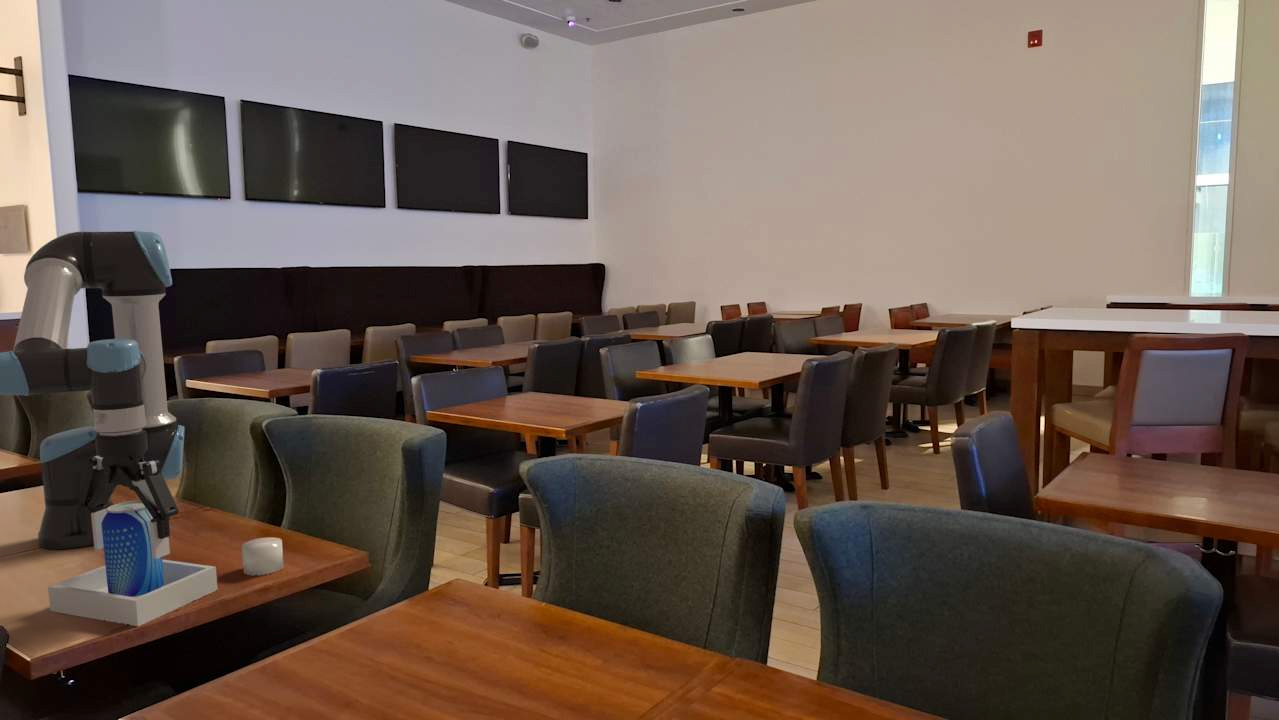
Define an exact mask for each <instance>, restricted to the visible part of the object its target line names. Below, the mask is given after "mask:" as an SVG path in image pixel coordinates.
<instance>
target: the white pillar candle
mask: <svg viewBox="0 0 1279 720" xmlns="http://www.w3.org/2000/svg"><path fill="white" fill-rule="evenodd" d="M283 552H284V551H283V539H282V538H279V537H271V536H270V537H269V536H267V537H259V538H255V539H252V540H251V539H250V540H248V541H246V542H244V543H242V545H241V554H242V555H241V556H242V569H243V573H244V574H245V575H246V574H247V576H255V575H257V576H265V574H266V575H270V573H271V574H274V573H277V572H278V571H279V572H280V571H281V570H282V569H283V568H284V567H285V564H284V553H283ZM280 569H281V570H280ZM276 571H277V572H276ZM273 572H274V573H273Z"/></svg>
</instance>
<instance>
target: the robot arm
mask: <svg viewBox="0 0 1279 720" xmlns="http://www.w3.org/2000/svg"><path fill="white" fill-rule="evenodd" d="M164 244H165V243H164V241H163V239H162V237H161V236H160V234H158V233H156V232H152V231H141V230H140V231H139V230H138V231H137V230H131V231H74V232H68V233H65V234H63V235H58V237H55V238H53V239H52V240H50V241H48V242H47V243H45V244H44V245H43V246H41V247H40V248H39V249H38V250H37V251H36V252H35V253H33V254H32V256H31V258H30V259H29V260H28V262H27V264H26V267H25V270H24V275H23V281H24V283H25V286H26V288H27V290H26V294H25V299H24V303H23V307H22V311H21V315H20V321H19V324H18V327H17V329H18V330H17V332H16V337H15V340H14V341H15V342H14V344H13V350H8V351H4V352H3V351H2V352H0V395H1V396H7V397H8V396H24V397H28V396H33V395H46V394H56V393H69V392H87V391H90V394H91V395H90V396H91V408H92V416H93V426H91V425H90V426H82V427H77V428H73V429H69V430H66V431H65V430H64V431H61V432H58V433H55V434H52V435H49V436H47V437H46V438H44V439H43V440H41V443H40V445H39V457H40V459H39V463H40V467H41V468H40V469H41V478H42V486H43V487H42V488H43V495H44V496H43V497H44V507H45V509H44V511H43V512H44V513H43V516H42V520H41V523H40V527H39V531H38V533H37V537H38V539H37V540H38V546H39V547H40V548H43V549H49V550H66V549H67V550H68V549H76V548H77V549H78V548H83V547H88V546H93V547H94V550H96V551H99V550H102V549H104V545H103V535H102V525H101V523H102V521H103V519H104V517H105V515H106V513H107V511H106V509H107V508H108V507H110V506H112V505H114V502H113V501H112V497H111V496H112V495H113V493H114V491H115V489H116V487H119V486H122V487H128V488H129V490H130V491H134V493H135V494H136V496H137V497H138V498H139V501H142V503H143V504H144V506H145V507H146V509H147V510H148V512H149V513H150V514H151V516H152V517H153V519H152V520H151V521H150V530H151V541H152V552H153V559H158V558H160V557H162V558H163V557H164V556H167V555H171V550H170V535H171V530H170V529H171V528H170V518H171V517H172V516H176V515H178V514H179V512H180V511H179V509H178V506H177V504H176V501H175V499H174V497H173V495H172V492H171V491H170V488H169V486H168V484H167V480H168V481H169V480H174V479H177V478H178V477H179V476H181V473H182V471H183V470H182V469H183V458H184V446H185V445H184V444H185V426H184V425H180V424H178V425H177V423H178V422H177V417H176V416H174V415H173V414H171V412H169V410H168V399H167V388H166V378H165V366H164V364H165V363H164V354H163V353H164V351H163V343H162V342H163V341H162V330H161V321H160V319H161V318H160V309H159V303H160V301H161V300H162V299H163V298H164V297H165V296H166V295H167V294H166V288H168V287H171V286H172V285H173V279H172V274H171V267H170V264H169V260H168V254H167V251H166V246H165V245H164ZM81 289H101V292H102V293H101V294H102V298H103V299H105V300H106V301H107V302H108V303H110V304H111V310H112V319H113V320H112V322H113V331H114V338H111V339H110V338H109V339H100V340H95V341H91V342H89V343H88V344H87V346H86V347H78V348H76V347H75V348H67V342H68V337H69V329H70V325H71V318H72V311H73V305H74V298H75V296H76V295H77V294H78V293H79V292H80V291H81Z"/></svg>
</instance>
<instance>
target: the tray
mask: <svg viewBox="0 0 1279 720" xmlns="http://www.w3.org/2000/svg"><path fill="white" fill-rule="evenodd" d="M162 563H163V574H164V586H163V587H161V588H159V589H156V590H154V591H151V592H149V593H147V594H144V595H142V596H140V597H137V598H135V597H129V596H123V595H116V594H110V593H108V585H107V575H106V565H103V566H100V567H97V568H94V569H92V570H89V571H87V572H84V573H81V574H78V575H76V576H72V577H70V578H67V579H65V580H62V581H60V582H59V581H58V582H57V583H54V584H51V585H49V586H47V591H48V602H49V611H50V612H52V613H53V612H54V613H59V614H65V615H71V616H77V617H81V618H88V619H94V620H99V621H104V620H105V621H104V622H111V623H115V622H116V624H121V623H122V624H123V623H124V624H123V625H127V624H129V625H128V626H134V627H140V626H142V625H144V624H148V623H149V622H151V621H153V620H155V619H157V618H160V617H162V616H164V615H166V614H169V613H171V612H173V611H175V610H177V609H179V607H180V608H181V607H184V606H187V605H188V604H190V603H193V602H195V601H196V600H199V599H201V598H203V596H204V597H206V596H208V595H210V594H211V593H214V592H216V590H217V591H218V577H217V567H216V566H212V565H204V564H198V563H192V562H191V563H190V562H184V561H176V560H169V559H164V558H162ZM205 595H206V596H205ZM194 600H195V601H194ZM192 601H193V602H192Z"/></svg>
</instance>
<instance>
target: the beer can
mask: <svg viewBox="0 0 1279 720" xmlns="http://www.w3.org/2000/svg"><path fill="white" fill-rule="evenodd" d="M106 511H107V513H106V515H105V517H104V519H103V521H102V523H101V525H102V535H103V545H104V548H103V552H104V553H103V554H104V561H105V565H106V575H107V585H108V593H110V594H116V595H123V596H129V597H135V598H137V597H140V596H142V595H144V594H147V593H149V592H151V591H154V590H156V589H159V588H161V587H163V586H164V574H163V563H162V559H163V557H160V558H158V559H153V552H152V541H151V530H150V521H151V520H152V519H153V517H152V516H151V514H150V513H149V512H148V510H147V509H146V507H145V506H144V504H143V503H142V501H141V500H132V501H131V500H130V501H129V500H128V501H123V502H120V503H116V504H113V505H112V506H110V507H108V508H107V509H106ZM105 565H104V566H105Z"/></svg>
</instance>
